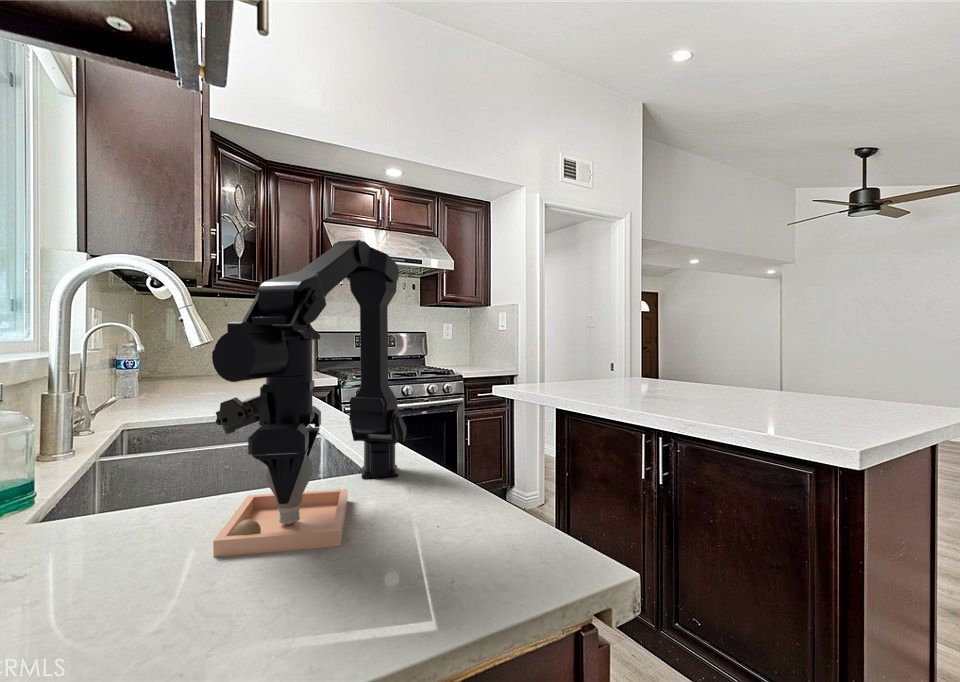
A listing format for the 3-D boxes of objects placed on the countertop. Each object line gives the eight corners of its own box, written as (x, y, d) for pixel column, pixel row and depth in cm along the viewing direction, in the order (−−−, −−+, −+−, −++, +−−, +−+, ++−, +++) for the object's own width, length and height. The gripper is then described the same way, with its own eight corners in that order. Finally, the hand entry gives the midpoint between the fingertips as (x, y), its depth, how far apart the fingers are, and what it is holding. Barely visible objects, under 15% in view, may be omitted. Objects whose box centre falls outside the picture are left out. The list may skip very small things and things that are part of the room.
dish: (248, 511, 72) (248, 495, 72) (347, 504, 75) (347, 488, 75) (213, 561, 56) (213, 540, 56) (340, 550, 59) (340, 530, 59)
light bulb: (273, 535, 61) (272, 454, 61) (259, 523, 66) (258, 448, 66) (320, 524, 65) (319, 448, 65) (303, 513, 70) (302, 442, 70)
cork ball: (237, 540, 60) (237, 516, 60) (263, 538, 61) (263, 514, 61) (230, 551, 57) (230, 525, 57) (257, 549, 58) (257, 523, 58)
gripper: (242, 370, 72) (243, 475, 73) (198, 383, 54) (199, 523, 54) (321, 369, 75) (321, 471, 75) (304, 381, 56) (304, 515, 57)
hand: (290, 491), depth 65 cm, fingers open, 9 cm apart
